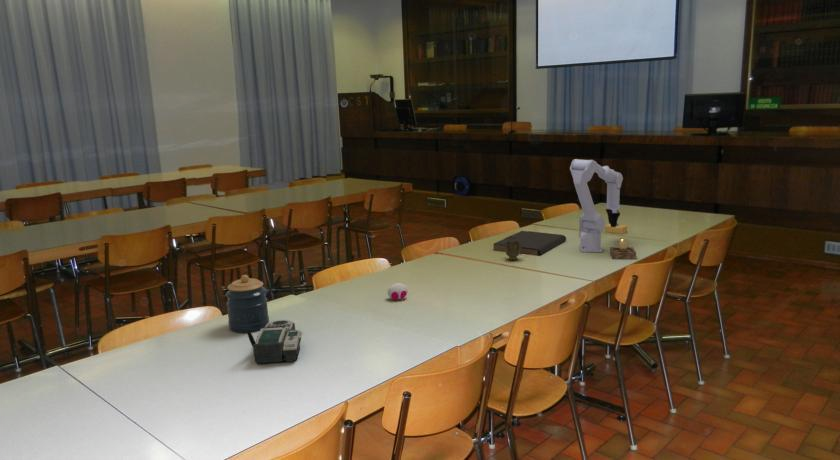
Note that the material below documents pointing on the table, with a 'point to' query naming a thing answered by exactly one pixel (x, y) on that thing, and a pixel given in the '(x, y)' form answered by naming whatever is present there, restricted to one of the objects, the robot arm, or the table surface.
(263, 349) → the communication device
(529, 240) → the file folder
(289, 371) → the table surface
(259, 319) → the canister
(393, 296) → the stress ball
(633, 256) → the box
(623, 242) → the peg
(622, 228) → the rubber stamp
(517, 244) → the cup
